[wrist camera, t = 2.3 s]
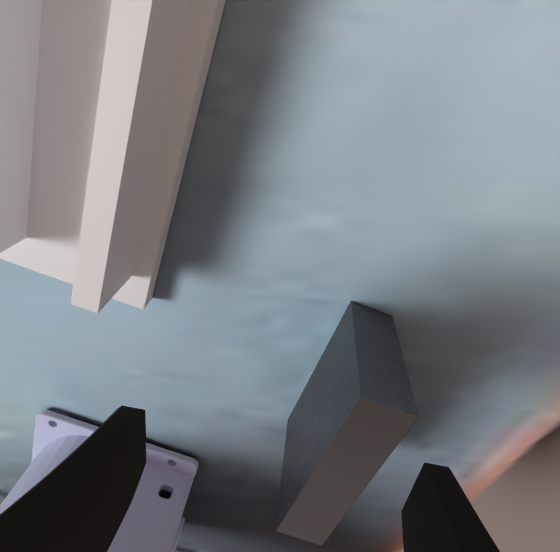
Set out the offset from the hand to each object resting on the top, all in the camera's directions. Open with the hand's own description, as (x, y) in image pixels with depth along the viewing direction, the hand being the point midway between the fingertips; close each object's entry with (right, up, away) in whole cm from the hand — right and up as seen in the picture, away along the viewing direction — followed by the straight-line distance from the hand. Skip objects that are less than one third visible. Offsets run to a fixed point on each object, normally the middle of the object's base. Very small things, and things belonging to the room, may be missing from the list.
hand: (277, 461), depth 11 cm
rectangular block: (+3, 0, +10) cm, 10 cm away
